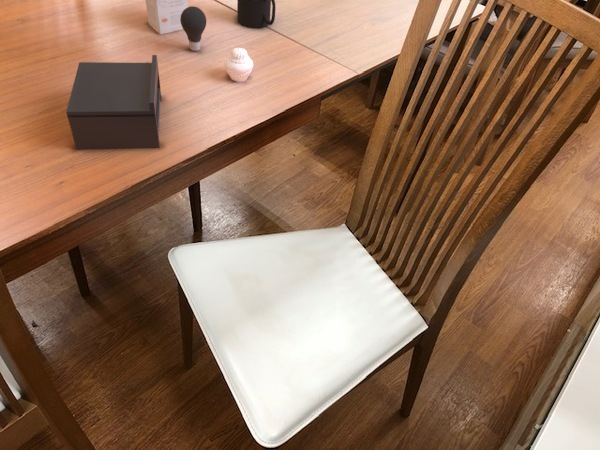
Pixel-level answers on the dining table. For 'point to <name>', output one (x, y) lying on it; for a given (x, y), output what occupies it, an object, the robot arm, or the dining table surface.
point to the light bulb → (193, 25)
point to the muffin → (238, 64)
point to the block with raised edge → (115, 105)
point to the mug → (255, 13)
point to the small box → (165, 14)
